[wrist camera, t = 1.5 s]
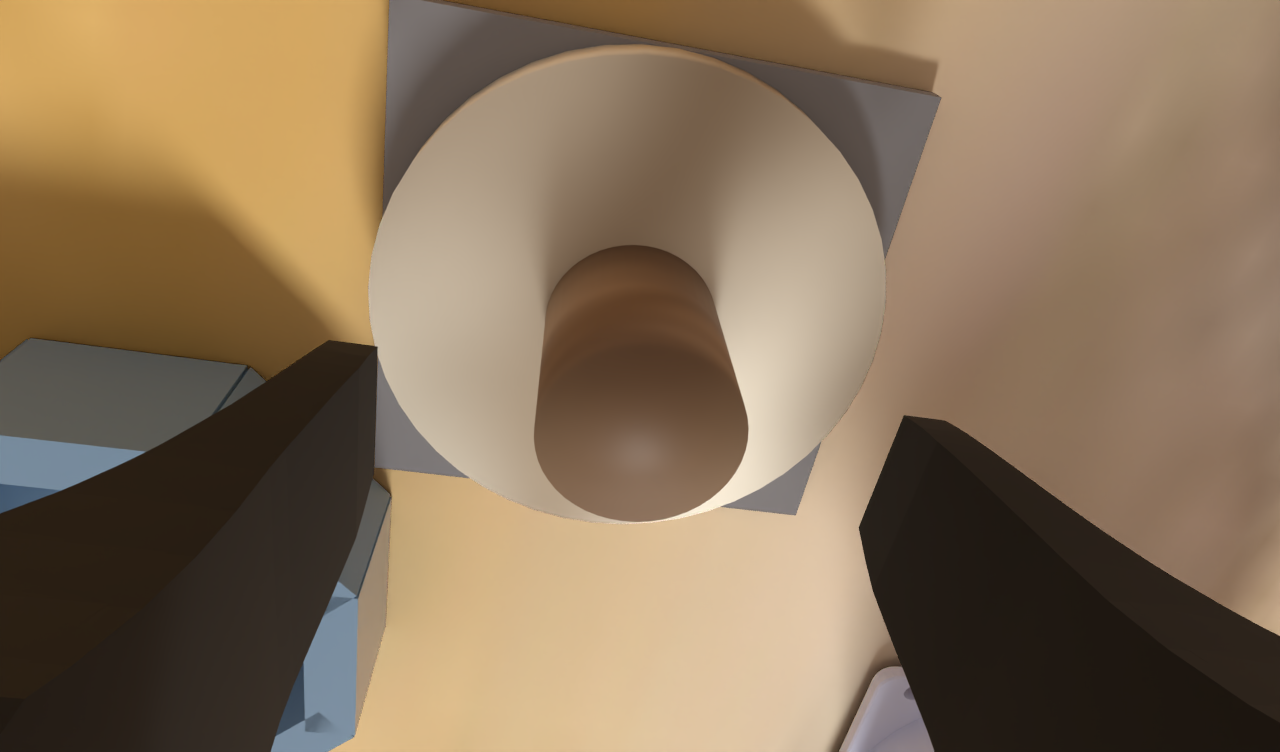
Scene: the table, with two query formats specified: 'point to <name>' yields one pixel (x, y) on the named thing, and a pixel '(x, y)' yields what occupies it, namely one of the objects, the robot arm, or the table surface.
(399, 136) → the mat
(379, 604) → the bowl
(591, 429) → the lid
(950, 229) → the table surface
